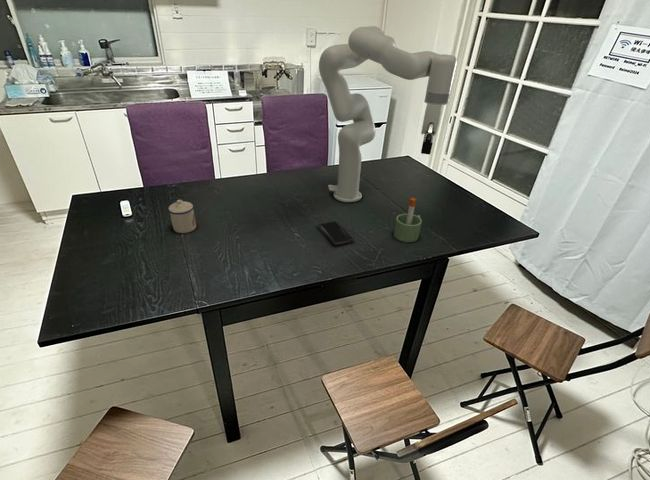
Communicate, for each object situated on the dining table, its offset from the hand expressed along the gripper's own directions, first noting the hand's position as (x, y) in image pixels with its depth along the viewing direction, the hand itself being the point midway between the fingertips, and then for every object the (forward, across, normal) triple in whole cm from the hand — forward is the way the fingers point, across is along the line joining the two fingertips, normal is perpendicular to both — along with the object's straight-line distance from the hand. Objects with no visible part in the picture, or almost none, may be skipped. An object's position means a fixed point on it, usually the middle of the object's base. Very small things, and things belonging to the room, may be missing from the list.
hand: (426, 149), depth 135 cm
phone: (+30, +19, -27) cm, 44 cm away
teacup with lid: (+31, +31, -85) cm, 95 cm away
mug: (+30, +10, 0) cm, 31 cm away
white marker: (+29, +12, -1) cm, 31 cm away
